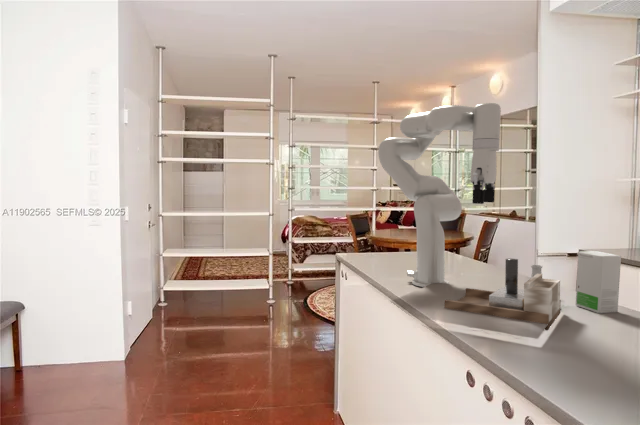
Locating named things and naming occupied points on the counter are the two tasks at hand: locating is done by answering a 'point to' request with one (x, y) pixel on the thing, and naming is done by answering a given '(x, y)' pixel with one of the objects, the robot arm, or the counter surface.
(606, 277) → the skincare box
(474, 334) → the counter surface
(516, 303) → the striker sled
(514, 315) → the wooden tray
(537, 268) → the flask
